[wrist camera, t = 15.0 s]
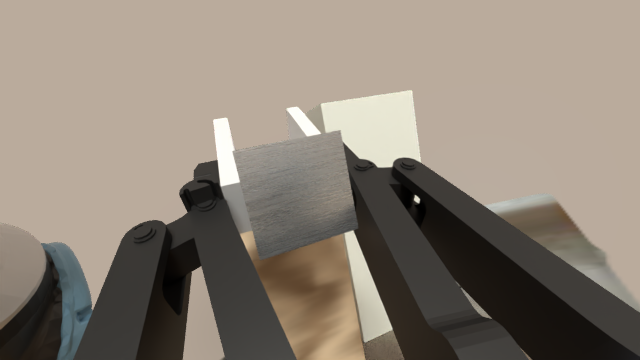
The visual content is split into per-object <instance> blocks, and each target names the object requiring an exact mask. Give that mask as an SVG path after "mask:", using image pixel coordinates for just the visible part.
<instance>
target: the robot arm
mask: <svg viewBox="0 0 640 360" xmlns="http://www.w3.org/2000/svg"><path fill="white" fill-rule="evenodd" d="M286 113H287V123H288V132H289V140H292V139H297V138H302V137H307V136H313V135H318V134H321V133H320V132H319V130H318V129H317V128H316V127H315V126H314V125H313V124H312V122H311V121H310V120H309V119H308V118H307V117H306V116H305V114H304V113H303V112H302V111H301V110H300V109H299V108H298V107H293V108H287V109H286ZM213 121H214V131H215V140H216V149H217V158H218V160H216V161H210V162H205V163H201V164H198V166H197V167H196V169H195V170H194V180H193V181H190V182H188V183H187V184H185V185H184V186H183V187H182V188H181V190H180V193H179V195H180V197H181V199H182V202H183V204H184V206H185V208H186V210H187V212H188V213H187V214H185V215H184V216H183V217H181V218H179V219H178V220H176V221H174V222H172V223H170V224H167V225H165V224H164V223H163V222H162V221H158V220H152V221H147V222H144V223H140V224H139V225H137V226H135V227H133V228H132V229H131V230H129V231H128V232H127V233H126V234H125V236H124V237H123V239H122V241H121V243H120V245H119V248H118V250H117V253H116V255H115V257H114V260H113V262H112V265H111V267H110V270H109V272H108V275H107V277H106V280H105V282H104V285H103V287H102V289H101V292H100V294H99V297H98V300H97V302H96V304H95V307H94V310H92V309H91V307H92V302H91V295H90V291H89V288H88V284H87V281H86V279H85V276H84V273H83V271H82V268H81V266H80V264H79V262H78V260H77V258H76V256H75V255H74V253H73V251H72V250H71V249H70V248H69V247H68V246H67V245H66V244H63V243H58V242H54V243H49V244H45V243H40V242H39V241H38V240H37V239H36V238H35V237H34V236H32V235H31V234H30V233H28V232H27V231H25V230H22V229H20V228H18V227H15V226H11V225H8V224H3V223H0V360H182V359H183V351H184V341H185V332H186V323H187V313H188V304H189V294H190V285H191V275H192V271H194V270H195V269H197V268H199V267H200V266H202V270H203V273H204V278H205V281H206V285H207V289H208V293H209V296H210V301H211V305H212V308H213V312H214V316H215V320H216V324H217V327H218V331H219V335H220V339H221V343H222V347H223V351H224V355H225V358H226V360H297V358H296V356H295V354H294V352H293V350H292V348H291V345H290V343H289V341H288V339H287V337H286V334H285V332H284V330H283V328H282V326H281V323H280V321H279V319H278V317H277V315H276V312H275V310H274V308H273V306H272V304H271V301H270V299H269V297H268V295H267V293H266V290H265V288H264V286H263V284H262V282H261V280H260V277H259V275H258V273H257V271H256V269H255V266H254V264H253V262H252V260H251V258H250V255H249V253H248V251H247V249H246V247H245V244H244V242H243V240H242V238H241V236H240V234H242V233H245V232H249V231H252V227H251V223H250V219H249V215H248V211H247V207H246V204H245V200H244V196H243V192H242V188H241V184H240V180H239V176H238V172H237V168H236V164H235V160H234V156H233V152H232V151H235V146H234V143H233V139H232V135H231V131H230V127H229V123H228V119H227V118H222V119H215V120H213ZM343 146H344V152H345V157H346V163H347V168H348V174H349V179H350V185H351V190H352V196H353V201H354V207H355V212H356V218H357V223H358V228H359V229H356V230H353V231H354V233H355V236H356V238H357V241H358V243H359V246H360V249H361V251H362V254H363V256H364V259H365V261H366V264H367V266H368V269H369V271H370V274H371V276H372V279H373V281H374V284H375V286H376V289H377V291H378V294H379V296H380V299H381V301H382V304H383V306H384V309H385V311H386V314H387V316H388V319H389V321H390V324H391V326H392V329H393V331H394V334H395V336H396V339H397V341H398V344H399V346H400V349H401V351H402V354H403V356H404V359H405V360H529V359H528V358H527V357H526V355H525V354H524V353H523V351H524V352H525V353H526V354H527V355H528V356H529V357H530V358H531V359H532V360H640V313H639V312H638V311H636V310H635V309H634V308H632V307H631V306H629V305H628V304H626V303H625V302H623V301H622V300H620V299H619V298H617V297H616V296H615V295H613V294H612V293H610V292H609V291H607V290H606V289H604V288H603V287H601V286H600V285H599V284H597V283H596V282H594V281H593V280H591V279H590V278H588V277H587V276H585V275H584V274H582V273H581V272H580V271H578V270H577V269H575V268H574V267H572V266H571V265H569V264H568V263H566V262H565V261H563V260H562V259H561V258H559V257H558V256H556V255H555V254H553V253H552V252H550V251H549V250H547V249H546V248H545V247H543V246H542V245H540V244H539V243H537V242H536V241H534V240H533V239H531V238H530V237H528V236H527V235H526V234H524V233H523V232H521V231H520V230H518V229H517V228H515V227H514V226H512V225H511V224H510V223H508V222H507V221H505V220H504V219H502V218H501V217H499V216H498V215H496V214H495V213H493V212H492V211H491V210H489V209H488V208H486V207H485V206H483V205H482V204H480V203H479V202H477V201H476V200H474V199H473V198H472V197H470V196H469V195H467V194H466V193H464V192H463V191H461V190H460V189H458V188H457V187H456V186H454V185H453V184H451V183H450V182H448V181H447V180H445V179H444V178H442V177H441V176H439V175H438V174H437V173H435V172H434V171H432V170H431V169H429V168H428V167H426V166H425V165H423V164H422V163H421V162H419V161H417V160H415V159H412V158H406V157H403V158H398V159H396V160H395V161H394V162H393V166H392V167H377V166H376V165H375V164H374V163H373V162H371V161H369V160H366V159H359V158H358V157H357V156H356V155H355V154H354V153H353V152H352V150H351V149H349V147H348V146H347V145H345V143H344V142H343ZM415 195H416V196H417V197H418V198H419V199H420V202H419V203H417V202H416V201H414V198H415ZM456 282H457V283H458V284H459V285H460V286H461V287H462V288H463V289H464V290H465V291H466V292H467V293H468V294H469V295H470V296H471V297H472V298H473V299H474V300H475V301H476V302H477V303H478V304H479V306H480V307H481V308H482V309H483V310H484V311H485V312H486V313H487V314H488V315H489V316H490V317H491V318H492V319H489V318H486V317H482V316H481V315H480V314H478V312H477V311H476V310H475V309H474V308H473V306H472V305H471V303H470V302H469V300H468V299H467V297H466V296H465V294H464V293H463V291H462V290H461V289H460V287H459V286H458V284H457V283H456ZM517 344H518V345H517ZM520 348H521V349H522V350H523V351H522V350H521V349H520Z"/></svg>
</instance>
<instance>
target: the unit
mask: <svg viewBox="0 0 640 360" xmlns="http://www.w3.org/2000/svg"><path fill="white" fill-rule="evenodd" d="M305 116H306V117H307V118H308V119H309V120H310V121H311V122H312V124H313V125H314V126H315V127H316V128H317V129H318V130H319V132H320V133H321V134H323V133H328V132H333V131H338V130H341V135H342V141H343V142H344V143H345V145H347V146H348V147H349V149H351V150H352V152H353V153H354V154H355V155H356V156H357V157H358V158H359V159H366V160H369V161H371V162H373V163H374V164H375V165H376V166H377V167H392V166H393V162H394V161H395V160H396V159H398V158H403V157H406V158H412V159H415V160H417V161H419V162H421V159H420V151H419V143H418V136H417V127H416V119H415V111H414V103H413V95H412V90H410V91H404V92H397V93H390V94H383V95H377V96H370V97H364V98H357V99H350V100H344V101H336V102H330V103H323V104H320V105H318V106H316V107H315V108H313V109H312V110H310V111H309V112H307V113H305ZM414 201H416V202H417V203H419V202H420V199H419V198H418V197H417V196H416V195H415V198H414ZM342 237H343V242H344V248H345V253H346V258H347V264H348V269H349V274H350V280H351V285H352V291H353V296H354V301H355V307H356V312H357V317H358V323H359V328H360V334H361V338H362V340H363V341H364V343H365V342H367V341H369V340H371V339H374V338H376V337H378V336H380V335H382V334H384V333H386V332H388V331H390V330H393V329H392V326H391V324H390V321H389V319H388V316H387V314H386V311H385V309H384V306H383V304H382V301H381V299H380V296H379V294H378V291H377V289H376V286H375V284H374V281H373V279H372V276H371V274H370V271H369V269H368V266H367V264H366V261H365V259H364V256H363V254H362V251H361V249H360V246H359V243H358V241H357V238H356V236H355V233H354V231H350V232H347V233H343V234H342Z"/></svg>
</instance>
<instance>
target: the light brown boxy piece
mask: <svg viewBox="0 0 640 360" xmlns="http://www.w3.org/2000/svg"><path fill="white" fill-rule="evenodd" d="M240 236H241V238H242V240H243V242H244V244H245V247H246V249H247V251H248V253H249V255H250V258H251V260H252V262H253V264H254V266H255V269H256V271H257V273H258V275H259V277H260V280H261V282H262V284H263V286H264V288H265V290H266V293H267V295H268V297H269V299H270V301H271V304H272V306H273V308H274V310H275V312H276V315H277V317H278V319H279V321H280V323H281V326H282V328H283V330H284V332H285V334H286V337H287V339H288V341H289V343H290V345H291V348H292V350H293V352H294V354H295V356H296V358H297V360H365V355H364V350H363V344H362V339H361V334H360V328H359V323H358V317H357V312H356V307H355V301H354V296H353V291H352V285H351V280H350V274H349V269H348V264H347V258H346V253H345V248H344V242H343V237H342V234H340V235H337V236H334V237H331V238H328V239H325V240H322V241H319V242H316V243H313V244H310V245H307V246H304V247H301V248H297V249H294V250H291V251H288V252H285V253H282V254H279V255H276V256H273V257H270V258H267V259H264V260H261V261H260V259H259V255H258V251H257V247H256V243H255V239H254V235H253V231H249V232H245V233H242V234H240Z"/></svg>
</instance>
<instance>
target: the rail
mask: <svg viewBox="0 0 640 360" xmlns="http://www.w3.org/2000/svg"><path fill="white" fill-rule="evenodd" d="M232 152H233V156H234V160H235V164H236V168H237V172H238V176H239V180H240V184H241V188H242V192H243V196H244V200H245V204H246V207H247V211H248V215H249V219H250V223H251V227H252V231H253V235H254V239H255V243H256V247H257V251H258V255H259V259H260V261H261V260H264V259H267V258H270V257H273V256H276V255H279V254H282V253H285V252H288V251H291V250H294V249H297V248H301V247H304V246H307V245H310V244H313V243H316V242H319V241H322V240H325V239H328V238H331V237H334V236H337V235H340V234H343V233H347V232H350V231H353V230H356V229H359V228H358V223H357V218H356V212H355V207H354V201H353V196H352V190H351V185H350V179H349V174H348V168H347V163H346V157H345V152H344V146H343V141H342V135H341V130H338V131H333V132H328V133H323V134H318V135H313V136H307V137H302V138H297V139H292V140H287V141H282V142H276V143H271V144H266V145H261V146H256V147H250V148H246V149H241V150H235V151H232Z"/></svg>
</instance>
